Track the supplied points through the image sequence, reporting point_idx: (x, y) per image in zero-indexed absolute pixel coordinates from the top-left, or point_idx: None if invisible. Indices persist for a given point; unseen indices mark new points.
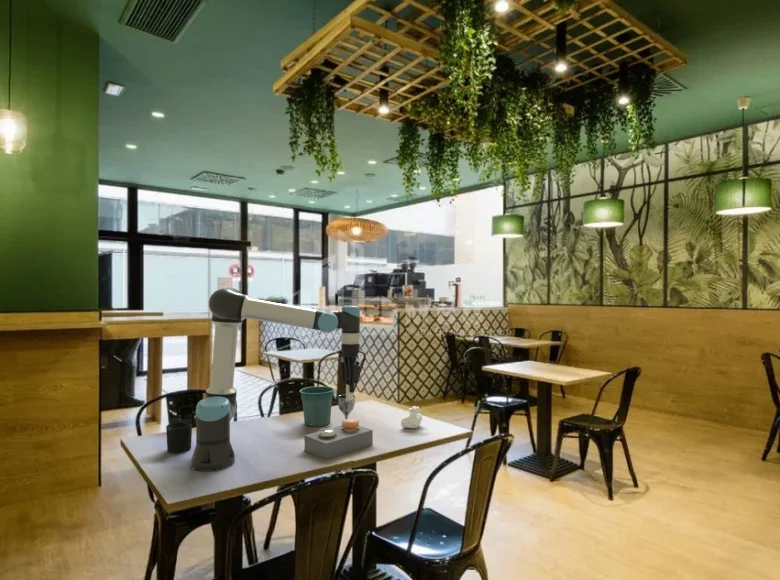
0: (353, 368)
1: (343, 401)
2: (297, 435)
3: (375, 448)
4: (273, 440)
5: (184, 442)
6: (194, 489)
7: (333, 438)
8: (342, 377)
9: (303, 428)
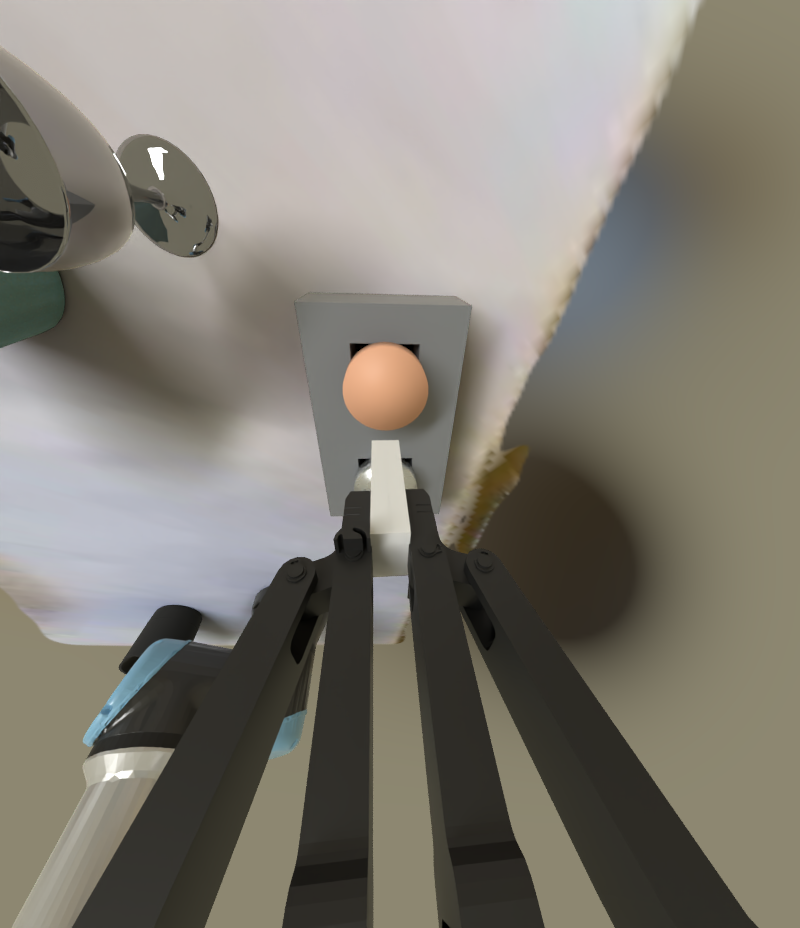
0: (499, 830)
1: (79, 259)
2: (179, 433)
3: (493, 324)
4: (201, 499)
5: (192, 633)
6: (378, 628)
7: (421, 480)
8: (296, 645)
9: (79, 368)
